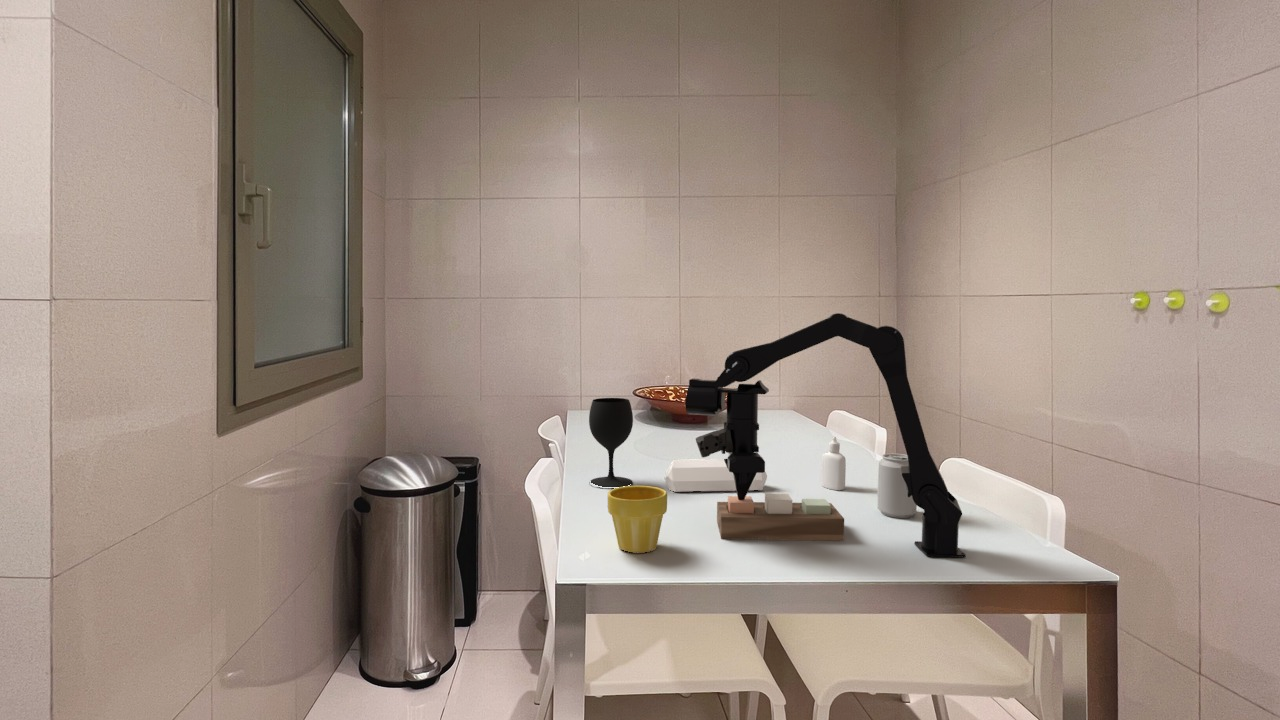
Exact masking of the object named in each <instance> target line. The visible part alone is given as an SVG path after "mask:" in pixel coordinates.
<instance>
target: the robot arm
mask: <svg viewBox="0 0 1280 720" xmlns="http://www.w3.org/2000/svg"><path fill="white" fill-rule="evenodd" d="M837 337H840V338H842V339H845V340H848V341H849V342H851V343H855V344H857V345H860V346H862V347H864V348H868V350H869V352H870V354H871V355H872V358H873V360H874V361H875V364H876V366H877V367H878V369H879V371H880V373H881V375H882V377H883V379H884V381H885V384H886V386H887V390H888V394H889V398H890V401H891V404H892V407H893V411H894V415H895V417H896V421H897V423H898V424H897V425H898V428H899V430H900V435H901V438H902V442H903V444H904V448H905V452H906V455H907V456H908V466H901V474H902V477H903V479H904V481H905V483H906V489H907V496H908V497H910V496H912V498H913V500H914V502H915V504H916V505H917V507H919V508H920V509H921V510H923V512H922V523H921V541H918V540H917V541H916V540H915V541H914V543H913V545H914V546H915V547H916V548H917V549H919V550H920V551H921V552H922V553H923V554H924V555H925V556H926V557H929V558H930V557H931V558H935V557H936V558H966V556H967V554H966V553H965V552H964V551H963V550H962V549H960V548H959V527H960V526H959V524H960V523H959V522H960V520H961V518H962V516H963V512H962V509H961V507H960V504H959V502H958V500H957V498H956V497H955V496H954V495H953V494H952V493H951V492H950V491H949V490H948V487H947V485H946V483H945V480H944V478H943V475H942V474H941V472H940V470H939V468H938V466H937V464H936V462H935V460H934V459H933V456H932V454H931V452H930V450H929V447H928V443H927V440H926V437H925V433H924V430H923V426H922V423H921V419H920V416H919V412H918V409H917V406H916V402H915V400H914V395H913V392H912V389H911V386H910V382H909V378H908V370H907V359H906V350H905V341H904V340H905V339H904V337H903V335H902V333H901V332H900V331H899V329H897V328H895V327H893V326H890V325H880V326H877V327H876V326H874V325H871V324H869V323H865V322H863V321H861V320H857V319H854V318H852V317H849V316H847V314H844V313H842V312H841V313H839V312H838V313H837V312H836V313H833V314H831V315H830V316H828V317H827V318H825V319H821V320H820V321H817V322H816V323H812V324H811V325H809V326H807V327H804V328H801V329H799V330H797V331H795V332H794V331H793V332H792V333H791V334H787V335H786V336H783V337H781V338H778V339H776V340H774V341H772V342H768V343H763V344H758V345H753V346H750V347H747V348H742V349H739V350H735V351H732V352H730V353H729V354H728V356H727V357H726V358H725V361H724V369H723V371H722V372H721V373H720V375H719V376H717V378H716V380H715V379H713V380H712V379H700V378H691V379H689V380H688V387H687V390H686V396H685V398H684V400H685V401H684V402H685V403H684V404H685V405H684V407H685V411H686V413H687V415H698V416H699V415H700V416H717V417H718V416H719V413H720V411H724V410H725V407H726V419H725V421H723V428H721V429H718V430H714V431H711V432H708V433H705V434H703V435H700V436H697V437H696V438H695V443H696V445H697V447H698V450H699V453H700V456H701V458H707V457H709V456H710V455H713V454H716V453H718V452H721V454H723V455H725V454H726V453H727V454H728V457H727V458H723V459H724V461H725V463H726V466H727V468H728V470H729V472H733V476H734V481H735V486H736V491H735V492H736V496H737V497H738V500H744V499H745V497H746V496H747V494H748V492H749V491H748V490H749V488H750V486H751V484H752V482H753V480H754V478H755V476H756V474H757V473H763V472H766V461H765V460H764V458H763V457H762V456H761V455H760V454H759V453H760V451H759V449H760V447H759V445H758V431H760V424H759V423H758V420H759V419H758V414H759V413H758V412H759V395H766V394H767V393H769V392H770V389H769V388H768V387H766V385H764V383H763V382H762V380H760V379H759V380H757V381H756V382H755V383H743V382H747V381H749V380H750V379H752V378H754V377H755V376H757V375H758V374H761V373H762V372H763V371H765V370H768V368H770V367H771V366H773V365H774V364H776V363H777V362H779V361H781V360H784V359H785V358H788V357H791V356H792V355H796V354H797V353H800V352H802V351H805V350H808V349H810V348H812V347H814V346H817V345H819V344H823V342H826V341H828V340H831V339H834V338H837ZM735 382H737V383H739V384H738V385H737V387H735V388H734V387H732V388H729V387H728V386H730V385H732V384H734V383H735Z"/></svg>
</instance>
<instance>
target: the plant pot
mask: <svg viewBox="0 0 1280 720" xmlns="http://www.w3.org/2000/svg"><path fill="white" fill-rule="evenodd" d="M667 511H668V493H667V491H666V490H665V489H663V488H661V487H656V486H649V485H631V486H625V487H619V488H615V489H609V491H608V492H607V512H608V514H609V515H610V516H611V519H612V522H613V526H614V531H615V536H616V541H617V545H618V548H619V550H621V549H622V550H624V551H623V552H625V551H628V552H627V553H629V552H633V553H632V554H645V552H647V553H650V551H651V552H653V551H654V550H656V549H657V547H658V542H659V536H660V531H661V527H662V521H663V518H664V516H663V515H665V514H666V513H667ZM622 550H621V551H622Z"/></svg>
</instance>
